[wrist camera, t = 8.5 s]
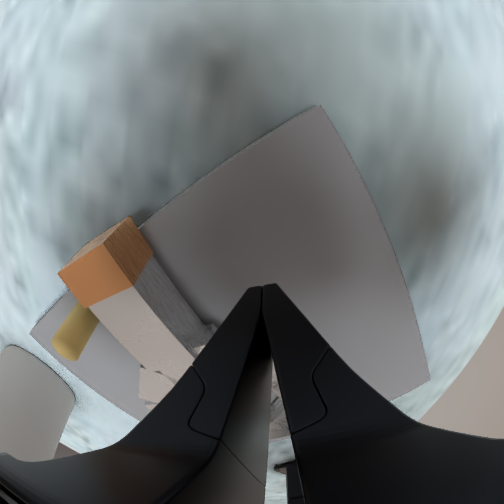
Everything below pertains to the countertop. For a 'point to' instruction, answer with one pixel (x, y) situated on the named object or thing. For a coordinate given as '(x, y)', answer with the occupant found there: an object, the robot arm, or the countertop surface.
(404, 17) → the countertop surface
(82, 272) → the white handled ring
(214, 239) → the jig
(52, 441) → the mug
